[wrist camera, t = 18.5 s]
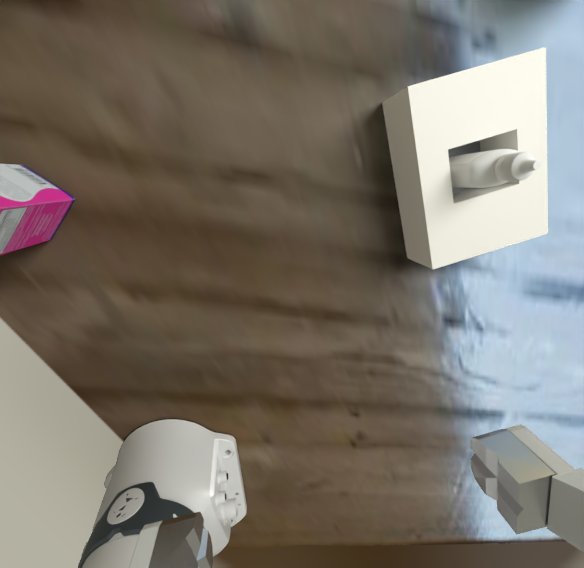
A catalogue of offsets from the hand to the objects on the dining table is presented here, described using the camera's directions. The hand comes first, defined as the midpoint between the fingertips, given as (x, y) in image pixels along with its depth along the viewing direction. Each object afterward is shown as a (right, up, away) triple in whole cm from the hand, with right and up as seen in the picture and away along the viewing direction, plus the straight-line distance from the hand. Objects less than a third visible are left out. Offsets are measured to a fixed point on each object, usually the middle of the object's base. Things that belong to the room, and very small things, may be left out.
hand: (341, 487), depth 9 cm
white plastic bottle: (+18, +20, +29) cm, 39 cm away
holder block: (+18, +20, +29) cm, 39 cm away
